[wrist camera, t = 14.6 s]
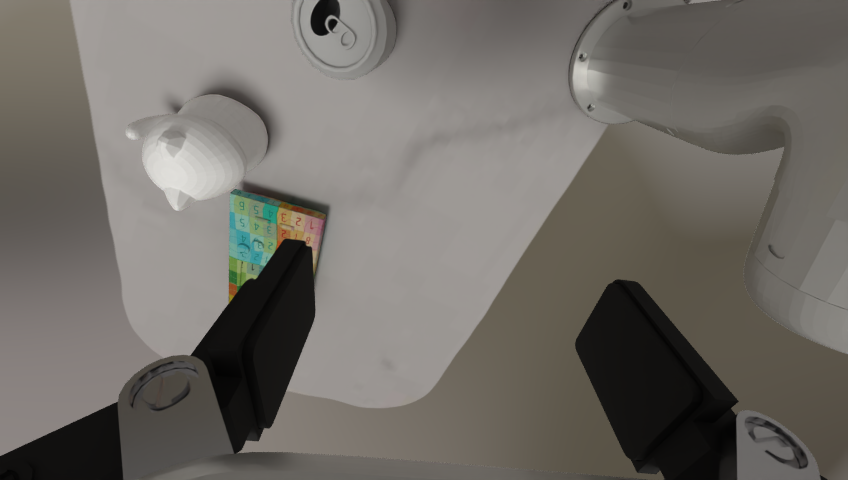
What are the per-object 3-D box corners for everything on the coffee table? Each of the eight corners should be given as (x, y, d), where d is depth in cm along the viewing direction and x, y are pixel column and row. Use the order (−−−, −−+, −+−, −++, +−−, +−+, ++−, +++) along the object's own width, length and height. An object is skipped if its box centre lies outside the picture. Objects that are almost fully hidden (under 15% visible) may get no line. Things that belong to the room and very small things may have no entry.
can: (354, -37, 32) (319, -69, 21) (411, 27, 34) (405, 24, 24) (311, 31, 35) (263, 30, 24) (367, 84, 37) (345, 103, 27)
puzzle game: (322, 222, 42) (302, 326, 52) (331, 206, 46) (311, 305, 56) (226, 196, 40) (225, 308, 50) (244, 181, 44) (240, 288, 54)
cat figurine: (282, 172, 43) (224, 231, 30) (180, 152, 42) (76, 205, 29) (281, 101, 38) (212, 136, 26) (167, 76, 37) (34, 99, 24)
